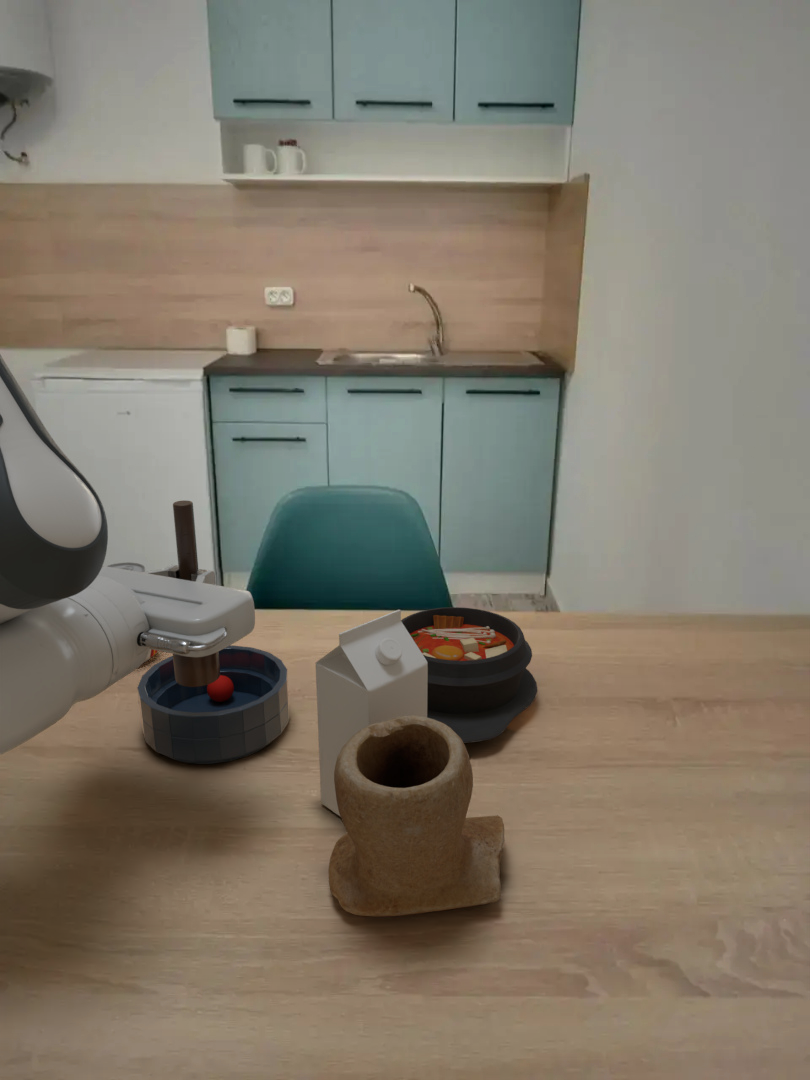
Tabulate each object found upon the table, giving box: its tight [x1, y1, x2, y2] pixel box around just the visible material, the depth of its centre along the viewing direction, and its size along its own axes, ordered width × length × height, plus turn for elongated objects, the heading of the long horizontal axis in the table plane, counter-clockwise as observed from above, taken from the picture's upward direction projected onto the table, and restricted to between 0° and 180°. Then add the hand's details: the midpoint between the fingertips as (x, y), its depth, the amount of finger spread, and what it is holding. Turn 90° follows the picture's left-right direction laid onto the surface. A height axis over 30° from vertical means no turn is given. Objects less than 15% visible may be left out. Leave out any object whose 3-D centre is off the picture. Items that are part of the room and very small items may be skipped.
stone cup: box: [328, 715, 506, 917], centre depth 65 cm, size 15×12×15 cm
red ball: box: [207, 675, 234, 702], centre depth 94 cm, size 3×3×3 cm
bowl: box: [136, 644, 290, 765], centre depth 90 cm, size 16×16×6 cm
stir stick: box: [172, 500, 220, 687], centre depth 80 cm, size 4×4×18 cm
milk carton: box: [315, 609, 428, 818], centre depth 75 cm, size 7×7×19 cm
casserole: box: [401, 606, 538, 744], centre depth 96 cm, size 25×19×8 cm
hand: (194, 574), depth 80 cm, fingers closed on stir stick, 2 cm apart
